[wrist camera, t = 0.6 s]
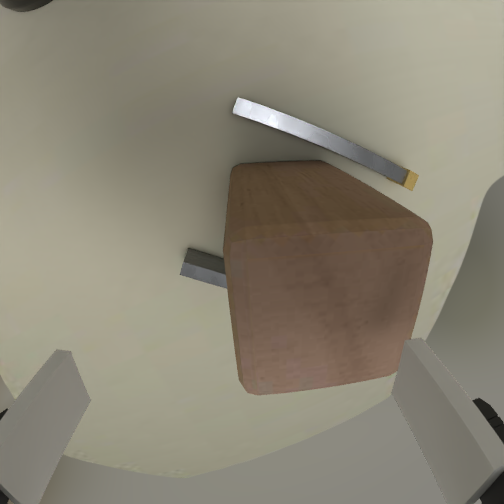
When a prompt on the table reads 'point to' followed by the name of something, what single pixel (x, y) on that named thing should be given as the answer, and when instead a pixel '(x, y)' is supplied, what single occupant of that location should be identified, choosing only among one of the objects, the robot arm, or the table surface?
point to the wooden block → (319, 276)
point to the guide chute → (214, 267)
